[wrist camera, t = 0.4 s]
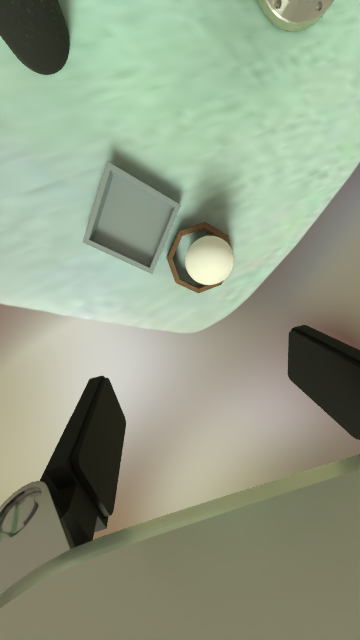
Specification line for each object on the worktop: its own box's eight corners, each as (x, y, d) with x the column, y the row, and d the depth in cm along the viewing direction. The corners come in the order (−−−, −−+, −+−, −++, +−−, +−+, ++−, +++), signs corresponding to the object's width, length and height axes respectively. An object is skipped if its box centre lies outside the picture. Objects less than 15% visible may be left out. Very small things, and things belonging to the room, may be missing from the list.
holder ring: (184, 214, 30) (187, 211, 28) (236, 244, 33) (242, 244, 31) (159, 273, 33) (160, 275, 31) (209, 296, 36) (213, 299, 33)
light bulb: (183, 234, 31) (199, 226, 21) (220, 243, 33) (251, 240, 22) (175, 274, 33) (186, 284, 23) (210, 281, 35) (234, 294, 25)
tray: (110, 168, 27) (106, 161, 24) (178, 208, 30) (180, 205, 27) (88, 242, 30) (82, 242, 27) (152, 272, 33) (152, 273, 30)
